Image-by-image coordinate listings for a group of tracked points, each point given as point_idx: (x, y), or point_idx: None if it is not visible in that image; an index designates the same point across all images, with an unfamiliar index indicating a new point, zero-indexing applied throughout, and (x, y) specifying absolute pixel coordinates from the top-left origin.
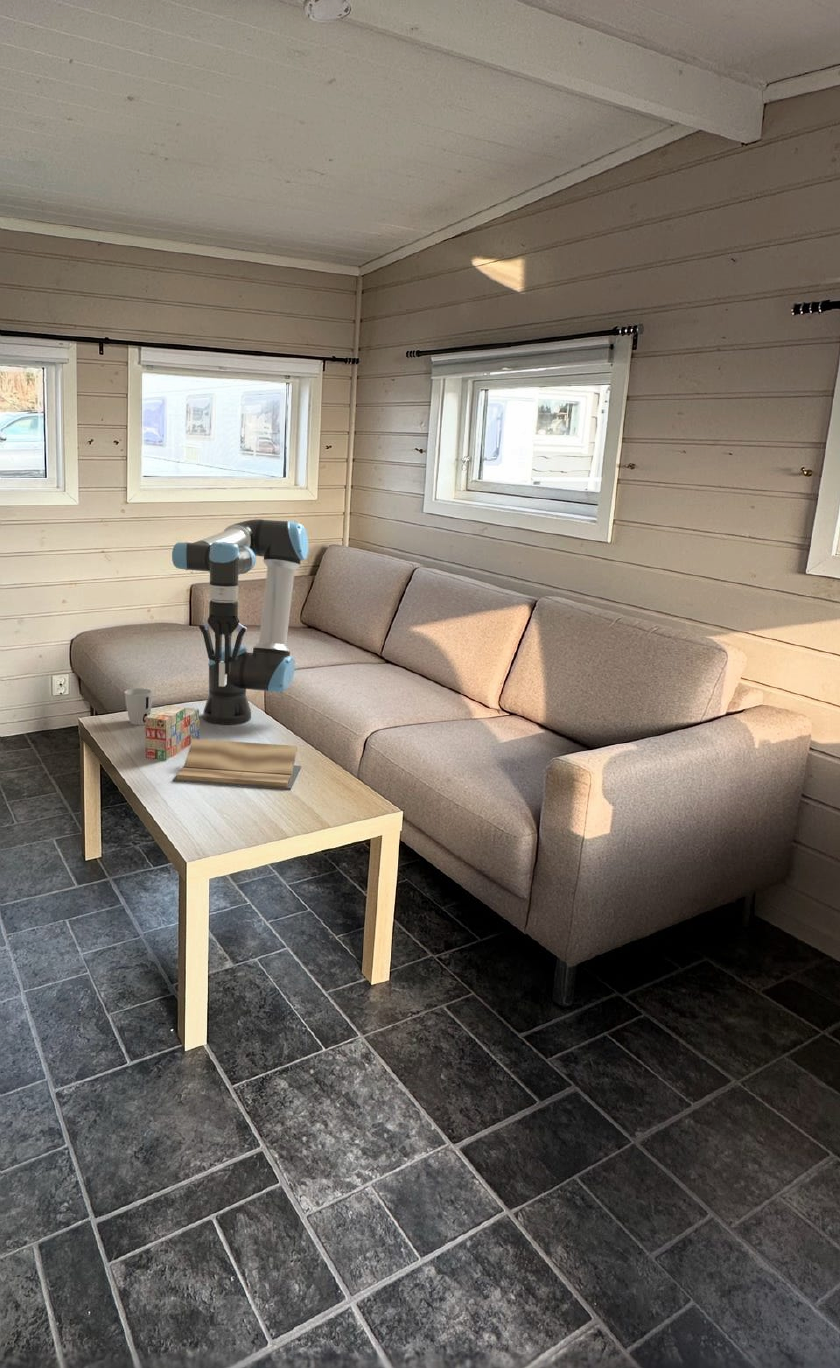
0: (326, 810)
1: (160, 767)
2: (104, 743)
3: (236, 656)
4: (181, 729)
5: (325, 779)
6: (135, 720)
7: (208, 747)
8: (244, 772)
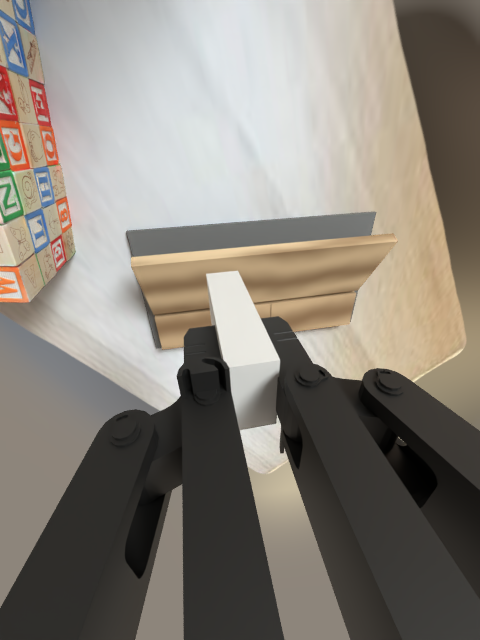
0: (390, 363)
1: (92, 294)
2: None
3: (413, 460)
4: (27, 160)
5: (409, 261)
6: None
7: (186, 277)
8: (275, 305)
